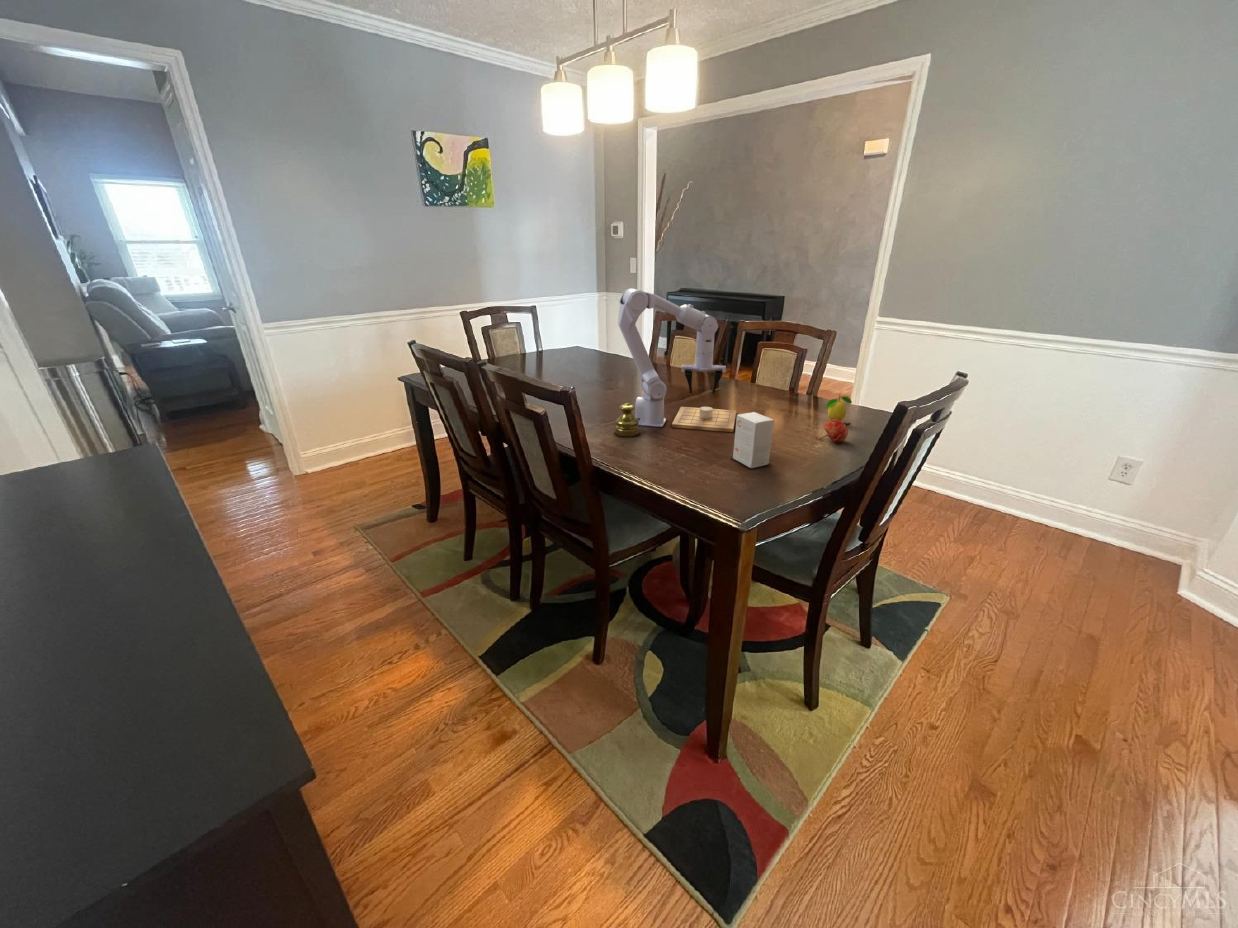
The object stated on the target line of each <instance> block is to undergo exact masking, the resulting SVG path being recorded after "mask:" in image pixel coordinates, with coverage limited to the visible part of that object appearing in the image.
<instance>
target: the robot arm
mask: <svg viewBox="0 0 1238 928" xmlns="http://www.w3.org/2000/svg"><path fill="white" fill-rule="evenodd" d="M618 302H619V308H618V318H617V324H618V328H619V330H620V332H621V335H622V337H623V339H624V341H625V343H626V345H627V348H628V349H629V352H630V354H631V357H632V359H633V361H634V363H635V365H636V368H637V370H638V373H639V378H640V381H641V383H640V387H641V390H642V391H643V394H642V396H637V397H636V400H635V405H634V406H635V409H634V410H635V412H634V413H635V415H634V416H635V417H636V418H637V419H638V420H639V424H638V426H643V427H657V428H663V427H664V425H665V423H666V422H667V418H665V396H666V394H667V391H668V390H667V389H668V388H667V385H666V383H665V382H663V381H662V380H661V377H660V376H659V375H658V373H657V371H656V370H655V367H654V365H653V363H652V360H651V358H650V355H649V353H648V351H647V348H646V346H645V344H644V342H643V339H642V337H641V335H640V332H639V330H638V327H637V325H636V324H637V321H638V320H639V317H641V315H642V313H643V312H645V311H646V309H648V310H650V309H651V310H652V309H654V308H656V309H658V310H661V311H663V312H665V313H668V314H670V315H673V316H675V319H676V321H677V323H680V324H682V325H683V326H686V327H688V328H690V329H693V330H695V331H696V341H695V358H694V359H695V361H694V364H682V365H681V373H684V376H685V378H686V381H687V385H688V389H689V394H693V372H695V373H713V381H712V382H713V383H712V389H711V392H712V393H711V394H712V395H715V394H716V391H717V390H716V389H717V387H718V385H719V382H720V380H721V379H722V376H723V373H724V374H725V373H726V372H727V366H726V365H721V364H720V365H718V364H713V362H714V349H715V348H714V347H715V335H716V332H717V331H718V328H719V324H718V320H717V319H716V318H715V316H712V315H709V314H706V311H705V310H699V309H696V308H694V305H693V304H690V303H688V304H683V305H680V306H679V305H678V304H676V303H674V302H671V301H669V300H668V299H665V298H663V297H662V296H660V295H657V294H654V293H651V292H647V291H644V290H641V289H640V290H639V289H637V288H634V287H629V288H627V289H626V290H624V291H623V293H622V295H621V297H620V298H619V301H618Z"/></svg>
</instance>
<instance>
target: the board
mask: <svg viewBox="0 0 1238 928" xmlns="http://www.w3.org/2000/svg"><path fill="white" fill-rule="evenodd" d="M699 411H700V407H690V406H689V407H688V406H680V408H679V410H678V412H677V413H676V415H675V417H674V419H673V421H672V423H671V428H676V429H687V430H688V429H689V430H702V431H712V432H725V433H734V430H735V429H734V428H735V425H736V419H737V410H736V409H735V410H733V409H719V408H713V411H712V418H709V419H703V418H700V417H699Z"/></svg>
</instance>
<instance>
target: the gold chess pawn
mask: <svg viewBox="0 0 1238 928" xmlns="http://www.w3.org/2000/svg"><path fill="white" fill-rule="evenodd" d="M635 406H636V405H634V404H633V403H630V402H624V403H622V404H621V405H619V407H618V408H619V409H620V410H621V411H622V414H621V415H619V417H618V418H616V419H615V424H616V425H615V434H616V435H618V436H619V437H623V438H625V437H626V438H629V437H635V436H637V435H638V434H639V433H640V431H639V430H640V429H639V428H640V427H639V426H640V425H638V424H639V420H638V419H637V418H636V417H635V415H634V414H633V413H632V412H633V411H634V410H635Z"/></svg>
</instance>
